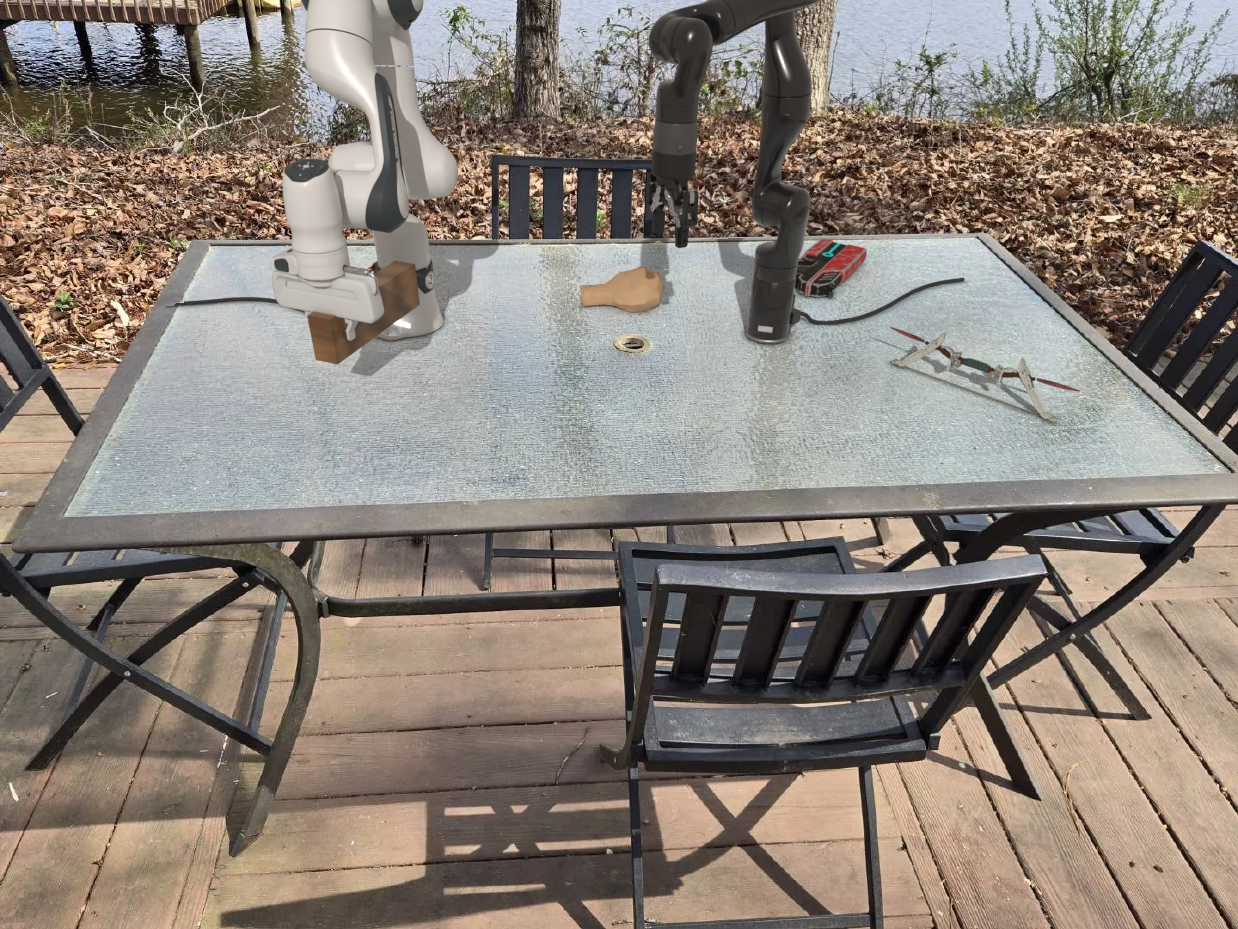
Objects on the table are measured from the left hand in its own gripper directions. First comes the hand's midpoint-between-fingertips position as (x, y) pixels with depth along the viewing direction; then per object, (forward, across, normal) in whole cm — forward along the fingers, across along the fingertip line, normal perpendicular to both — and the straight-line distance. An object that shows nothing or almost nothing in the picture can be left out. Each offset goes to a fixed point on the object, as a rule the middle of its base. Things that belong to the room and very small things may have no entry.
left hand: (334, 335), depth 156 cm
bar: (+4, 0, -10) cm, 11 cm away
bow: (+15, -110, -53) cm, 123 cm away
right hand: (-15, -52, -31) cm, 62 cm away
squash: (+15, -32, -64) cm, 73 cm away
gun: (+15, -70, -104) cm, 126 cm away
